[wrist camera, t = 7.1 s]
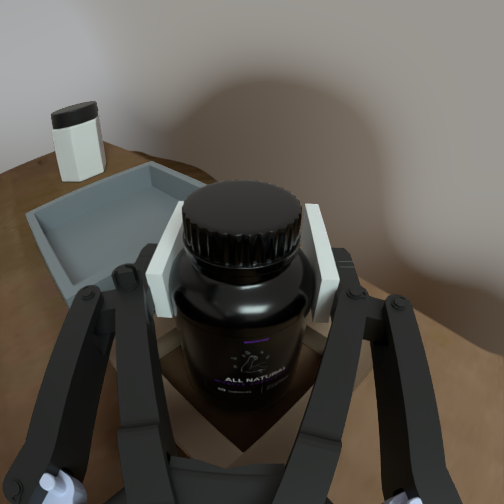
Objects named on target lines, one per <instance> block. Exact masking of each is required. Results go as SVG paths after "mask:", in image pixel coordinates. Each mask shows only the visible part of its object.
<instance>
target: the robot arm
mask: <svg viewBox="0 0 504 504" xmlns="http://www.w3.org/2000/svg"><path fill="white" fill-rule="evenodd" d="M183 203H184V201H179V202H178V204H177V206H176V208H175V210H174V212H173V214H172V216H171V218H170V220H169V222H168V224H167V227H166V229H165V231H164V233H163V235H162V237H161V240H160V242H159V244H156V243H148V244H147V245H146V246H145V247H143V248H142V249H141V251H140V253H139V257H137V259H136V262H135V264H132V263H126V264H122V265H120V266H118V267H116V268H115V269H114V270H113V271H112V274H111V276H112V279H113V282H114V285H115V287H116V289H113V290H108V291H103V292H101V291H100V288H99V287H98V286H96V285H87V286H85V287H82V288H81V289H80V290H79V291H78V292H77V294H76V296H75V298H74V300H73V302H72V305H71V307H70V309H69V312H68V314H67V316H66V319H65V321H64V324H63V326H62V329H61V331H60V334H59V336H58V339H57V341H56V344H55V347H54V349H53V352H52V355H51V357H50V360H49V363H48V366H47V369H46V372H45V375H44V378H43V381H42V384H41V387H40V390H39V394H38V397H37V400H36V404H35V407H34V411H33V414H32V418H31V422H30V425H29V429H28V433H27V437H26V442H25V444H24V445H23V447H22V449H21V450H20V452H19V454H18V455H17V457H16V459H15V461H14V462H13V464H12V466H11V468H10V469H9V471H8V473H7V475H6V477H5V478H4V482H3V492H4V495H5V497H6V498H7V500H8V501H9V502H10V503H12V504H86V502H87V500H88V496H87V493H86V489H85V487H84V486H83V484H82V483H83V480H84V477H85V474H86V470H87V465H88V460H89V454H90V447H91V441H92V435H93V429H94V424H95V419H96V413H97V408H98V404H99V399H100V394H101V389H102V385H103V381H104V376H105V372H106V368H107V364H108V360H109V356H110V352H111V348H112V344H113V340H114V337H115V334H116V368H117V386H118V399H119V411H120V421H121V427H120V428H119V429H118V432H117V440H118V448H119V456H120V462H121V469H122V475H123V481H124V487H123V488H122V489H121V490H120V491H119V492H117V493H116V494H115V495H114V496H112V497H111V498H110V499H109V500H107V501H106V502H105V503H103V504H333V503H332V502H331V501H330V500H329V499H328V498H327V494H328V491H329V488H330V485H331V482H332V479H333V476H334V472H335V469H336V466H337V462H338V459H339V456H340V452H341V447H342V442H341V437H342V433H343V429H344V426H345V422H346V418H347V414H348V409H349V405H350V401H351V396H352V392H353V387H354V383H355V378H356V373H357V368H358V363H359V357H360V352H361V346H362V340H367V341H370V347H371V355H372V362H373V371H374V379H375V388H376V398H377V409H378V422H379V436H380V455H381V481H382V490H383V496H384V500H385V501H384V502H383V503H382V504H463V503H462V501H461V499H460V497H459V494H458V492H457V490H456V488H455V485H454V483H453V481H452V479H451V477H450V475H449V472H448V470H447V468H446V464H445V455H444V447H443V440H442V433H441V427H440V421H439V415H438V409H437V404H436V399H435V394H434V389H433V384H432V380H431V375H430V371H429V366H428V362H427V358H426V354H425V350H424V346H423V343H422V339H421V335H420V332H419V328H418V324H417V321H416V318H415V314H414V311H413V308H412V305H411V303H410V301H409V300H408V299H407V298H405V297H404V296H402V295H397V294H393V295H390V296H388V297H387V298H386V300H381V299H377V298H374V297H371V296H369V294H368V292H367V291H366V289H365V288H363V287H362V286H360V282H359V279H358V276H357V274H356V271H355V268H354V264H353V262H352V258H351V256H350V254H349V253H348V252H347V251H346V249H344V248H331V246H330V243H329V239H328V236H327V233H326V229H325V226H324V222H323V219H322V216H321V212H320V209H319V206H318V204H305V211H304V220H303V228H302V237H301V247H302V251H303V252H304V254H305V255H306V257H307V258H308V260H309V262H310V264H311V267H312V270H313V273H314V281H315V284H314V292H313V299H312V303H311V315H312V322H313V323H328V322H329V318H330V316H331V321H332V323H331V327H330V330H329V333H328V337H327V341H326V345H325V348H324V352H323V355H322V359H321V362H320V366H319V369H318V372H317V376H316V379H315V382H314V385H313V388H312V392H311V395H310V398H309V401H308V404H307V407H306V410H305V413H304V416H303V419H302V422H301V424H300V427H299V430H298V433H297V436H296V439H295V441H294V444H293V447H292V449H291V452H290V455H289V457H288V460H287V462H286V465H285V467H284V463H281V464H263V463H256V464H251V465H245V466H240V467H234V468H222V467H219V466H216V465H213V464H210V463H207V462H204V461H201V460H198V459H189V458H181V457H180V456H179V453H178V451H177V448H176V445H175V441H174V436H173V431H172V427H171V422H170V417H169V412H168V407H167V401H166V396H165V390H164V385H163V379H162V373H161V366H160V360H159V353H158V346H157V338H156V331H155V323H154V319H153V314H154V311H156V314H157V317H167V318H172V317H173V309H172V304H171V299H170V293H169V276H170V271H171V267H172V264H173V261H174V259H175V258H176V256H177V255H178V253H179V252H180V251H181V249H182V248H183V247H184V246H183V237H182V235H183V220H182V206H183Z"/></svg>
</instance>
